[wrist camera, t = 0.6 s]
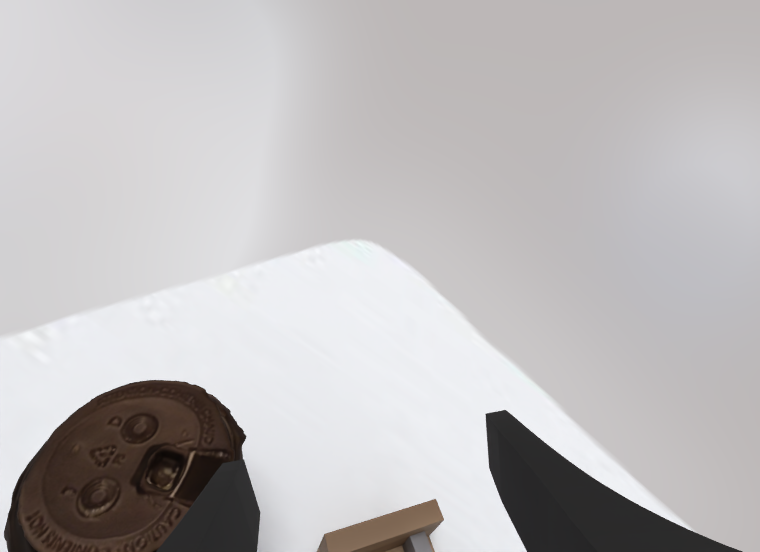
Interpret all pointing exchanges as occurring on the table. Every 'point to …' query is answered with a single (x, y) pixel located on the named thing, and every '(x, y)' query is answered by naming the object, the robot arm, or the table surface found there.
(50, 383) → the table surface
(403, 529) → the track sill
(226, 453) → the coffee cup
